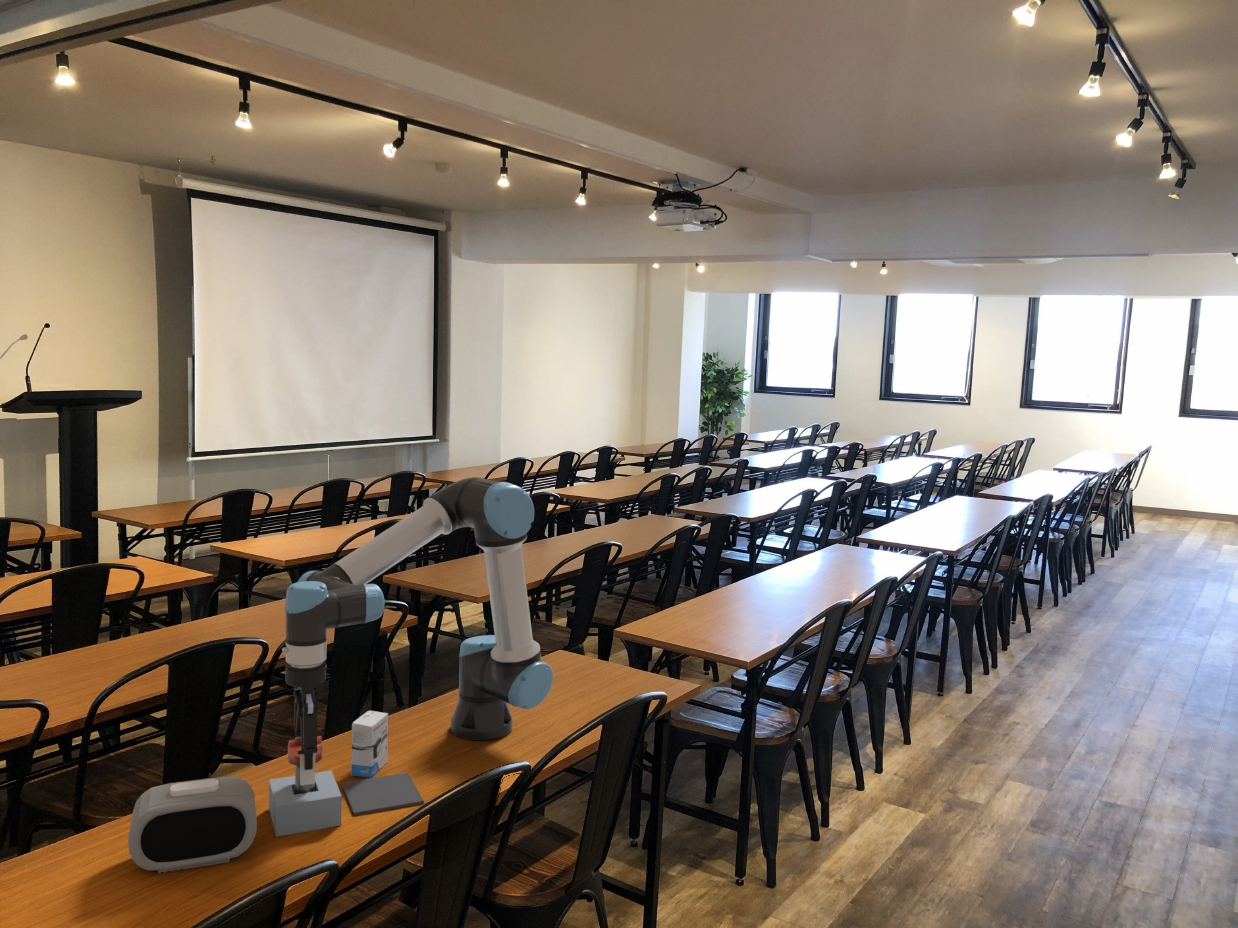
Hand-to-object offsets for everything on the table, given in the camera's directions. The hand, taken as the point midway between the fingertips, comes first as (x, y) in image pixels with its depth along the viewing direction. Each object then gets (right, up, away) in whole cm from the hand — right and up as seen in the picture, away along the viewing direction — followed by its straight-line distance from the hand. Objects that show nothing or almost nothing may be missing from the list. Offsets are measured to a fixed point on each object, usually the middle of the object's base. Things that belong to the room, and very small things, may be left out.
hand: (305, 775), depth 182 cm
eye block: (0, -8, +1) cm, 8 cm away
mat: (+12, -8, +12) cm, 19 cm away
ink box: (+6, -6, +23) cm, 25 cm away
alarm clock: (-15, -10, -15) cm, 23 cm away
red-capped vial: (0, -8, +1) cm, 8 cm away
